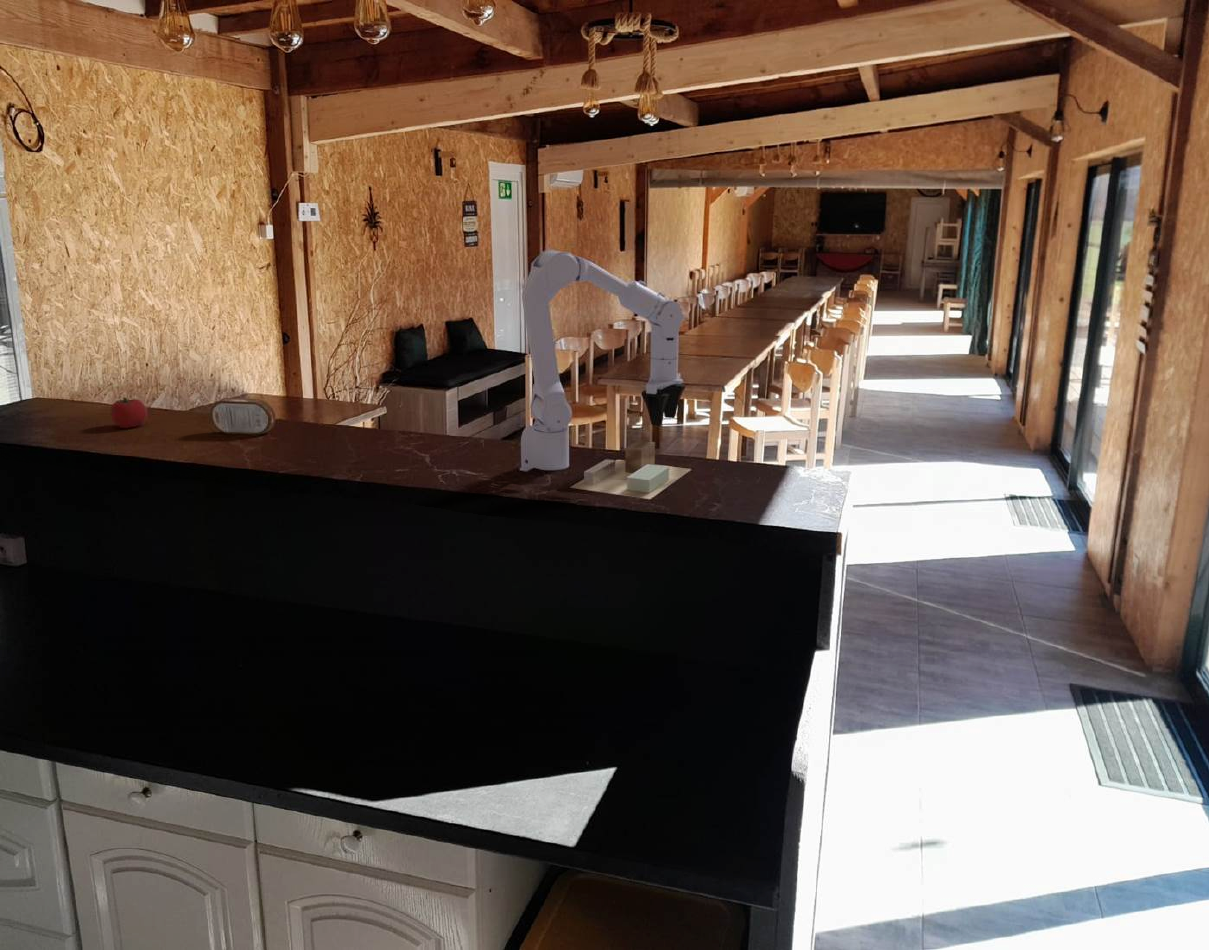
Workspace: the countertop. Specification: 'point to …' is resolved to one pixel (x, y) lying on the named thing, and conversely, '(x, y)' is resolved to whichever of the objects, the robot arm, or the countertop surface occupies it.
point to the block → (639, 455)
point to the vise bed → (619, 482)
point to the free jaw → (647, 478)
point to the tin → (242, 416)
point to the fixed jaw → (599, 472)
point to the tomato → (128, 413)
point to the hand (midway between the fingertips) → (663, 421)
